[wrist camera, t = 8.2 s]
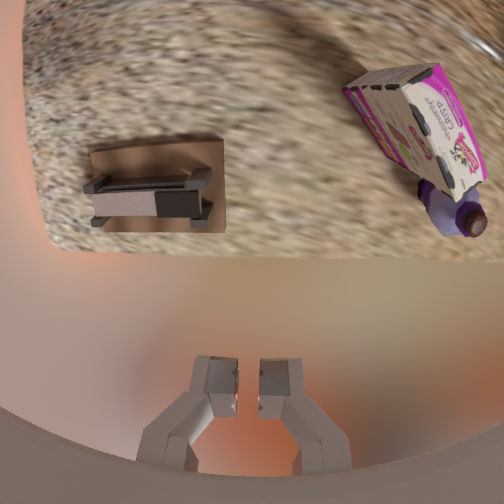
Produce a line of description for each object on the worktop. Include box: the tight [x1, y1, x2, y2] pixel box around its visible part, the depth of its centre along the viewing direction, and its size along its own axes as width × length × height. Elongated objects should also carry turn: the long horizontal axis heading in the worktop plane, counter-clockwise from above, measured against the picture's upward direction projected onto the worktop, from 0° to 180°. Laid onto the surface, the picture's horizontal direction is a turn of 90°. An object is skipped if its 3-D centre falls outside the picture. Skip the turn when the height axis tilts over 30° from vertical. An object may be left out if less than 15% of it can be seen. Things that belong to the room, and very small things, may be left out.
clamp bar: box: [92, 188, 202, 218], centre depth 31 cm, size 14×3×1 cm, turn 90°
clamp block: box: [83, 168, 214, 228], centre depth 33 cm, size 16×6×5 cm, turn 90°
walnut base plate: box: [90, 139, 226, 233], centre depth 36 cm, size 18×12×2 cm, turn 90°
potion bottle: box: [418, 179, 488, 237], centre depth 30 cm, size 9×9×12 cm
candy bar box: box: [342, 63, 488, 202], centre depth 23 cm, size 11×5×16 cm, turn 40°
